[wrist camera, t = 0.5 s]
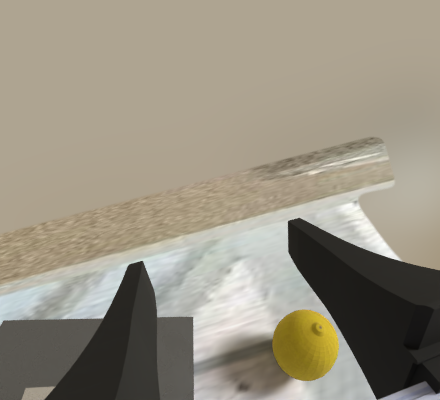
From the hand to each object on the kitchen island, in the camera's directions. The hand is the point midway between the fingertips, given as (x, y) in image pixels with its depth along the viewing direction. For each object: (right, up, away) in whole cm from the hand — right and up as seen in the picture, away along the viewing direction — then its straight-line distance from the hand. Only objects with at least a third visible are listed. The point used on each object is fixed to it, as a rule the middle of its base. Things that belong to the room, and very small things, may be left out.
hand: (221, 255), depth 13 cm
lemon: (+7, -14, +15) cm, 22 cm away
